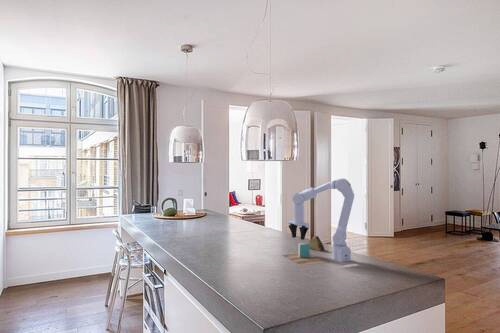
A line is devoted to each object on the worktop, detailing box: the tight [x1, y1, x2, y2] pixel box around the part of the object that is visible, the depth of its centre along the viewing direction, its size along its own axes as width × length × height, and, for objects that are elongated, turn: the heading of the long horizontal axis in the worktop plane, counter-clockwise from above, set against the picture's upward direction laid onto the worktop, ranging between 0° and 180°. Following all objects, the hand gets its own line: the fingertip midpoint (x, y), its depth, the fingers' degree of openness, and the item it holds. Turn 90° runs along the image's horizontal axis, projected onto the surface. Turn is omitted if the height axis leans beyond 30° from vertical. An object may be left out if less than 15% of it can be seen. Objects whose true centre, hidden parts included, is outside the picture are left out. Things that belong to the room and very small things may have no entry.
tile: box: [298, 242, 311, 258], centre depth 181 cm, size 2×6×7 cm, turn 113°
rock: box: [308, 235, 326, 252], centre depth 200 cm, size 11×9×10 cm
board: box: [281, 252, 329, 266], centre depth 177 cm, size 22×16×1 cm
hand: (298, 238), depth 187 cm, fingers open, 6 cm apart
